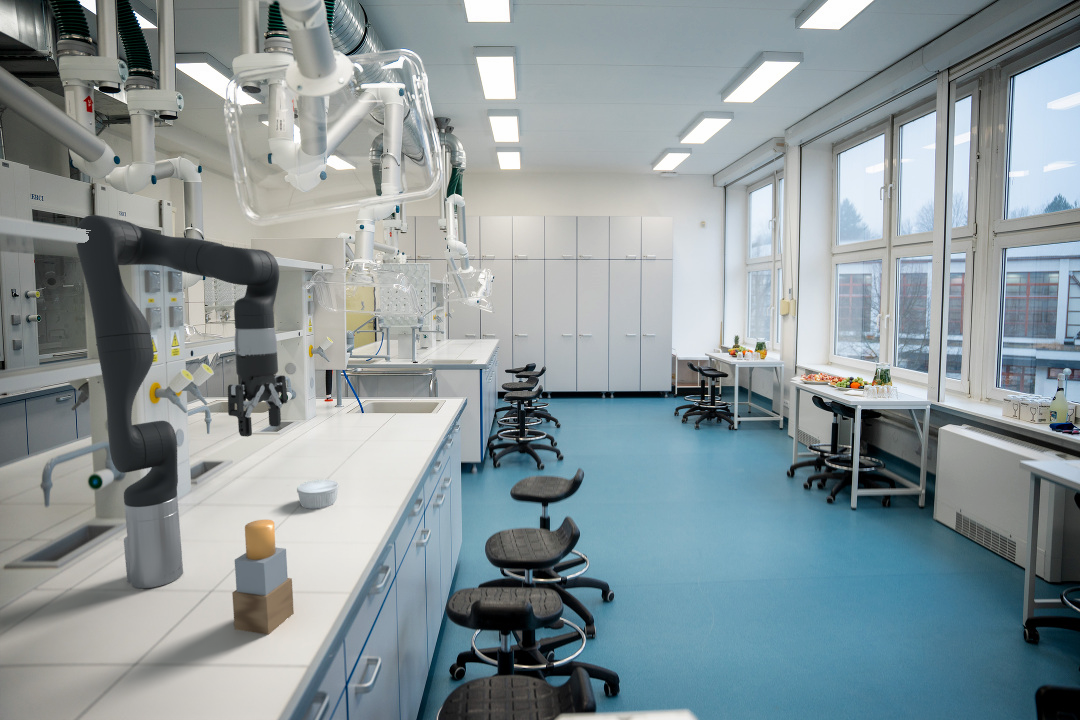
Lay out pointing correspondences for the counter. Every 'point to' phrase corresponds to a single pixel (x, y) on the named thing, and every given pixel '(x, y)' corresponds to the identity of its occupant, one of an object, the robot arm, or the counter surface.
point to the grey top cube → (261, 573)
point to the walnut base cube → (263, 609)
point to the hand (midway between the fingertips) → (260, 430)
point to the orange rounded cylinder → (260, 539)
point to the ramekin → (318, 493)
